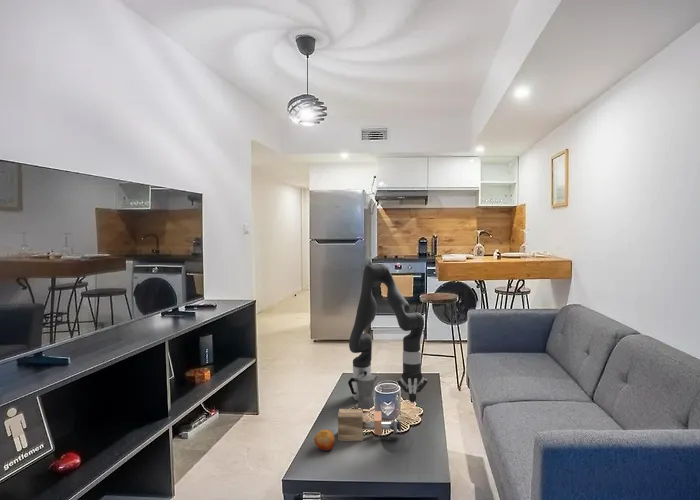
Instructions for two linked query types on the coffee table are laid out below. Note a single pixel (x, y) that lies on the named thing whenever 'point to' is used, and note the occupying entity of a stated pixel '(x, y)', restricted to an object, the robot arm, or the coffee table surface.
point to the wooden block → (350, 425)
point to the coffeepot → (364, 389)
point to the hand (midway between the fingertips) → (412, 401)
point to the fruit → (324, 440)
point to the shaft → (384, 425)
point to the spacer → (377, 422)
